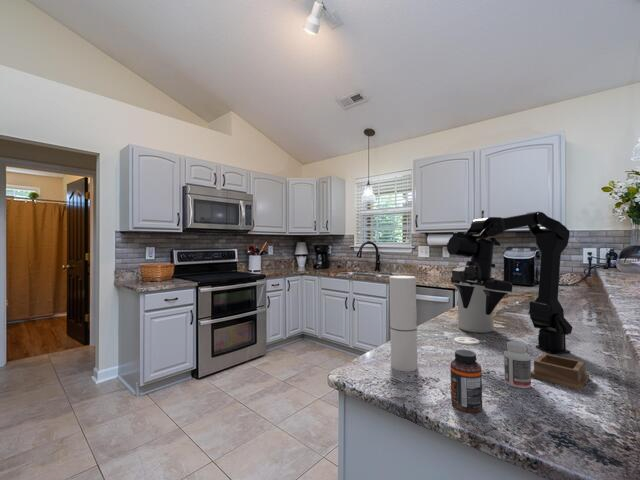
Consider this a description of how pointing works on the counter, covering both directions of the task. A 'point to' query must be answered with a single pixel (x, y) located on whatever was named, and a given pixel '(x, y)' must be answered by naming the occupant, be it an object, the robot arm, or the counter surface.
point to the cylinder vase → (475, 312)
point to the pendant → (467, 340)
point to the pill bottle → (517, 365)
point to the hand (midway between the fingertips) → (476, 311)
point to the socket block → (560, 371)
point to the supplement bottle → (466, 382)
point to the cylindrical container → (403, 323)
